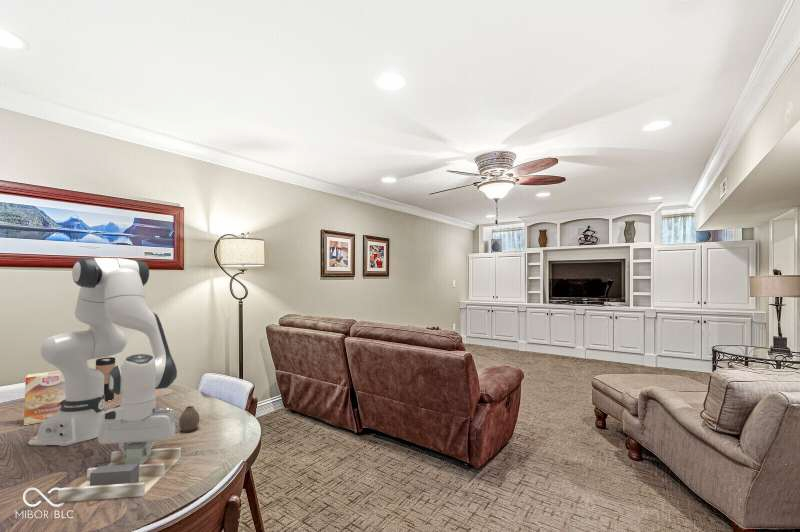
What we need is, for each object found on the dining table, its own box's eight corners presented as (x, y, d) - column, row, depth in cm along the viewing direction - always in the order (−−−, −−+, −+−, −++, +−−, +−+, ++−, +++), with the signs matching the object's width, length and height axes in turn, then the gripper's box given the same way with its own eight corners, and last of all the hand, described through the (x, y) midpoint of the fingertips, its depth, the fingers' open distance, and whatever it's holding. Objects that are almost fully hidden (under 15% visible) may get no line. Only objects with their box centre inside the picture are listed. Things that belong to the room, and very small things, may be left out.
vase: (190, 434, 140) (190, 410, 140) (174, 432, 141) (174, 409, 142) (203, 427, 147) (203, 404, 147) (188, 425, 148) (188, 403, 148)
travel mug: (101, 398, 185) (102, 357, 185) (118, 397, 185) (119, 357, 186) (90, 403, 177) (91, 360, 178) (107, 402, 178) (108, 360, 179)
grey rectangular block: (125, 466, 110) (126, 446, 110) (133, 460, 114) (134, 440, 114) (140, 465, 111) (140, 445, 111) (147, 459, 115) (148, 439, 115)
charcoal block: (89, 492, 99) (90, 473, 99) (99, 484, 103) (100, 466, 103) (130, 489, 101) (130, 470, 101) (138, 481, 105) (139, 463, 105)
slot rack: (57, 506, 95) (58, 490, 95) (112, 464, 117) (113, 451, 117) (142, 499, 97) (142, 484, 98) (180, 460, 119) (180, 447, 119)
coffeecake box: (23, 426, 148) (25, 377, 149) (24, 421, 153) (26, 374, 154) (73, 417, 158) (74, 371, 159) (73, 413, 163) (74, 368, 164)
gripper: (179, 404, 118) (178, 449, 117) (108, 407, 115) (107, 453, 114) (169, 411, 111) (168, 458, 111) (94, 414, 109) (93, 463, 108)
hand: (137, 455), depth 112 cm, fingers closed on grey rectangular block, 4 cm apart
